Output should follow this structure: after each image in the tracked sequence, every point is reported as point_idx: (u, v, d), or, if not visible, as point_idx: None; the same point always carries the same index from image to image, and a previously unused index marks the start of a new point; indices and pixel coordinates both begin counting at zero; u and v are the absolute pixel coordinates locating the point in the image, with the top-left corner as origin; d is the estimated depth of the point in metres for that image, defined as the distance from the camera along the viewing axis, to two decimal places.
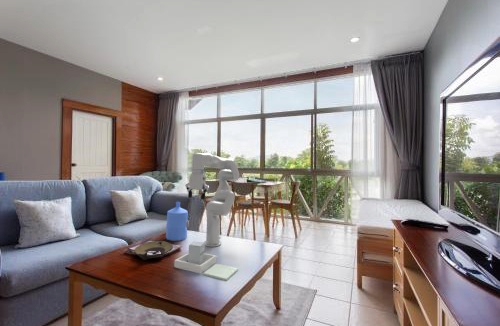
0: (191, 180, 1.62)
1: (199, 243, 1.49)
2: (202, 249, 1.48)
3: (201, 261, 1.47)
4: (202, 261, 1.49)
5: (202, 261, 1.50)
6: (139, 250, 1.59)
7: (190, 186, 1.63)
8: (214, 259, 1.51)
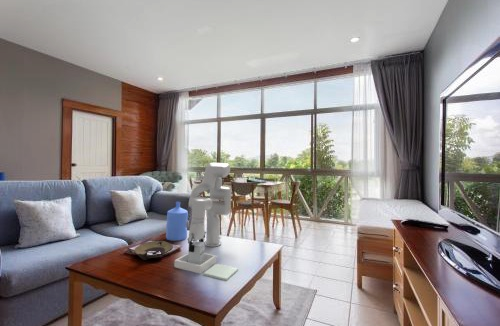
0: (198, 231, 1.45)
1: (199, 243, 1.48)
2: (202, 249, 1.47)
3: (201, 261, 1.47)
4: (202, 261, 1.49)
5: (202, 261, 1.50)
6: (139, 250, 1.59)
7: (196, 238, 1.44)
8: (214, 259, 1.51)
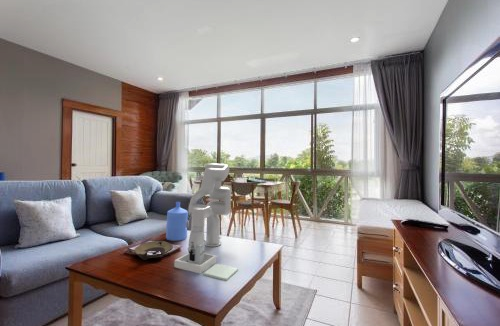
0: (197, 239, 1.45)
1: None
2: (202, 249, 1.48)
3: (201, 261, 1.47)
4: (202, 261, 1.49)
5: (202, 261, 1.50)
6: (139, 250, 1.59)
7: (196, 246, 1.45)
8: (214, 259, 1.51)
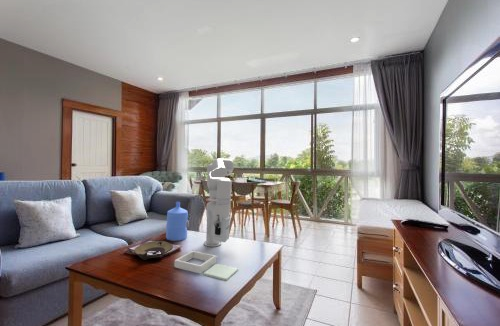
0: (223, 212, 1.37)
1: None
2: (228, 223, 1.39)
3: (226, 236, 1.39)
4: (227, 236, 1.41)
5: (228, 237, 1.42)
6: (139, 250, 1.59)
7: (222, 220, 1.36)
8: (214, 259, 1.51)
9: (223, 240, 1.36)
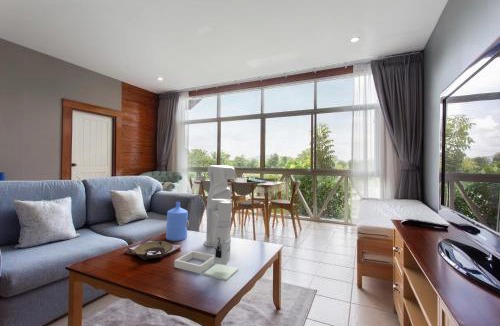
0: (224, 235, 1.36)
1: None
2: (228, 245, 1.39)
3: (227, 258, 1.38)
4: (228, 258, 1.40)
5: (228, 259, 1.41)
6: (139, 250, 1.59)
7: (223, 242, 1.36)
8: None
9: (224, 263, 1.36)
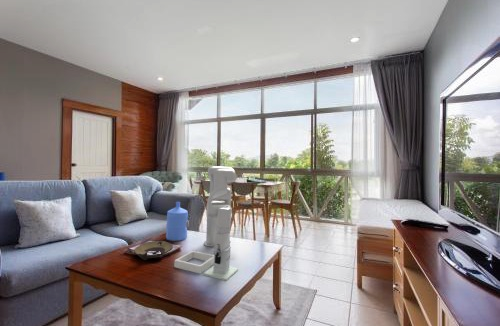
0: (224, 241, 1.36)
1: None
2: (228, 254, 1.39)
3: (227, 267, 1.39)
4: (228, 267, 1.41)
5: (228, 267, 1.41)
6: (139, 250, 1.59)
7: (222, 249, 1.36)
8: None
9: (223, 271, 1.36)
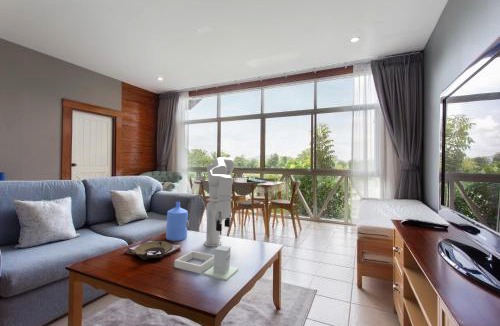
0: (225, 209, 1.37)
1: (225, 247, 1.41)
2: (228, 254, 1.39)
3: (227, 267, 1.39)
4: (228, 267, 1.41)
5: (228, 267, 1.41)
6: (139, 250, 1.59)
7: (224, 216, 1.36)
8: None
9: (223, 271, 1.36)
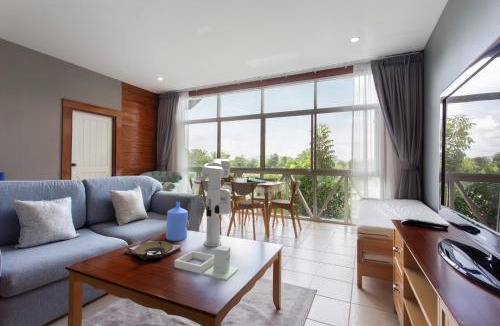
0: (214, 197, 1.53)
1: (225, 247, 1.41)
2: (228, 254, 1.39)
3: (227, 267, 1.39)
4: (228, 267, 1.41)
5: (228, 267, 1.41)
6: (139, 250, 1.59)
7: (213, 203, 1.52)
8: None
9: (223, 271, 1.36)
